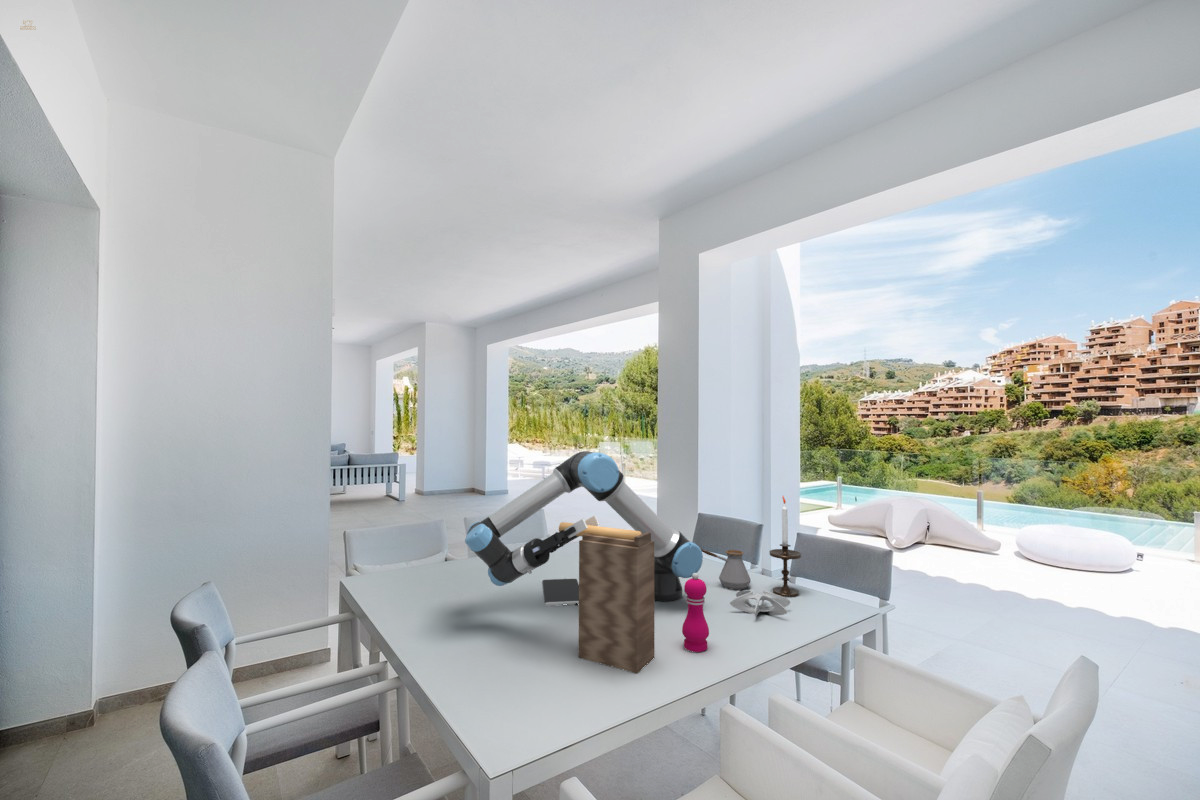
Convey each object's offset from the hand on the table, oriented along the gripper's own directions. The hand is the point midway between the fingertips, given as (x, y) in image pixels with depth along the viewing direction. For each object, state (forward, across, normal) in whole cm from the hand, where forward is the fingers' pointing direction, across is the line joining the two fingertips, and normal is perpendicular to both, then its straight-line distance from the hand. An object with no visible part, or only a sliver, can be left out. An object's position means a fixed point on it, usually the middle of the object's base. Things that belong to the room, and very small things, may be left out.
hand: (590, 521), depth 143 cm
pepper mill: (+3, -17, -42) cm, 45 cm away
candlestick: (+13, -78, -47) cm, 92 cm away
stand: (-10, 0, -34) cm, 35 cm away
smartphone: (-47, -36, -13) cm, 61 cm away
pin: (0, 0, -5) cm, 5 cm away
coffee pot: (-6, -73, -36) cm, 82 cm away
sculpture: (+10, -54, -46) cm, 71 cm away
